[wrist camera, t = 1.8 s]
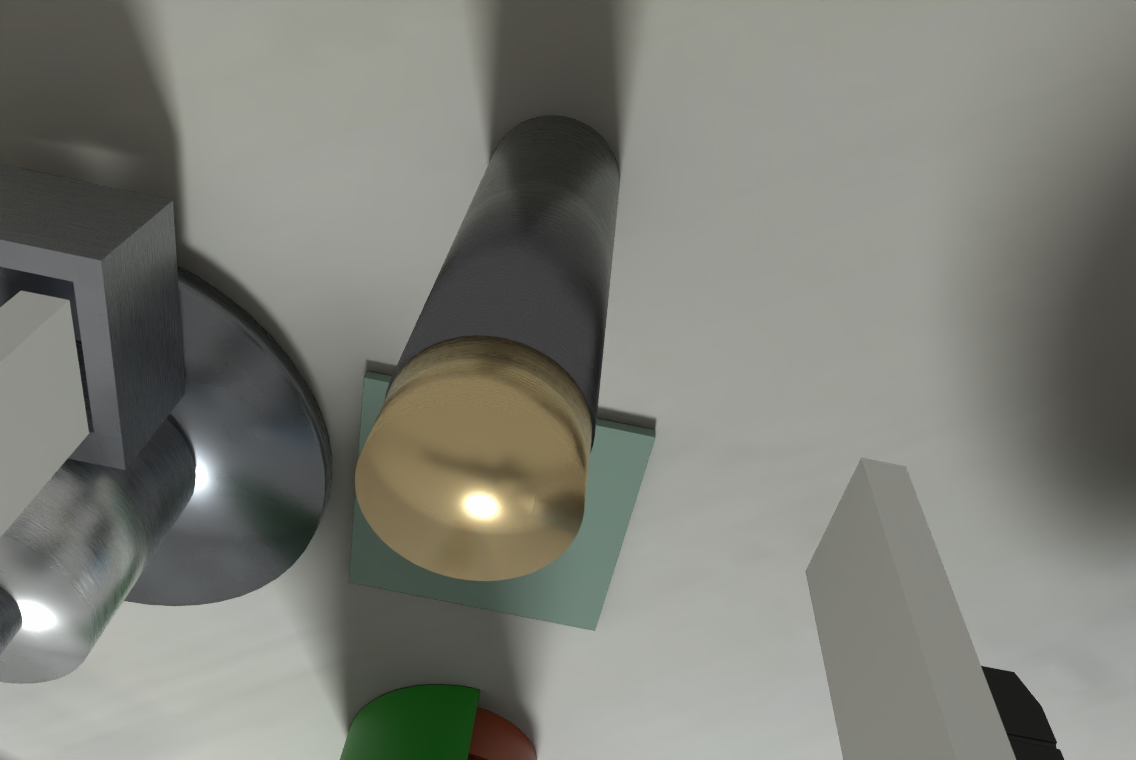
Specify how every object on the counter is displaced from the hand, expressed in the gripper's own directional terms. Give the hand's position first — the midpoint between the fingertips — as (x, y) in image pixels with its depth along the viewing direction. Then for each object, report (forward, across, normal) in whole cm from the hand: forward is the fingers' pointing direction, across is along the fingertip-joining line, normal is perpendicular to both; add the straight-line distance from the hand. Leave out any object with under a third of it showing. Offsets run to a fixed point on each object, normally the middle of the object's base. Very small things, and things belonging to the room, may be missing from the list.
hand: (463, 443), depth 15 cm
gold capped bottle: (+13, 0, 0) cm, 13 cm away
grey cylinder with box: (+12, +14, +10) cm, 20 cm away
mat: (+13, 0, +13) cm, 18 cm away
